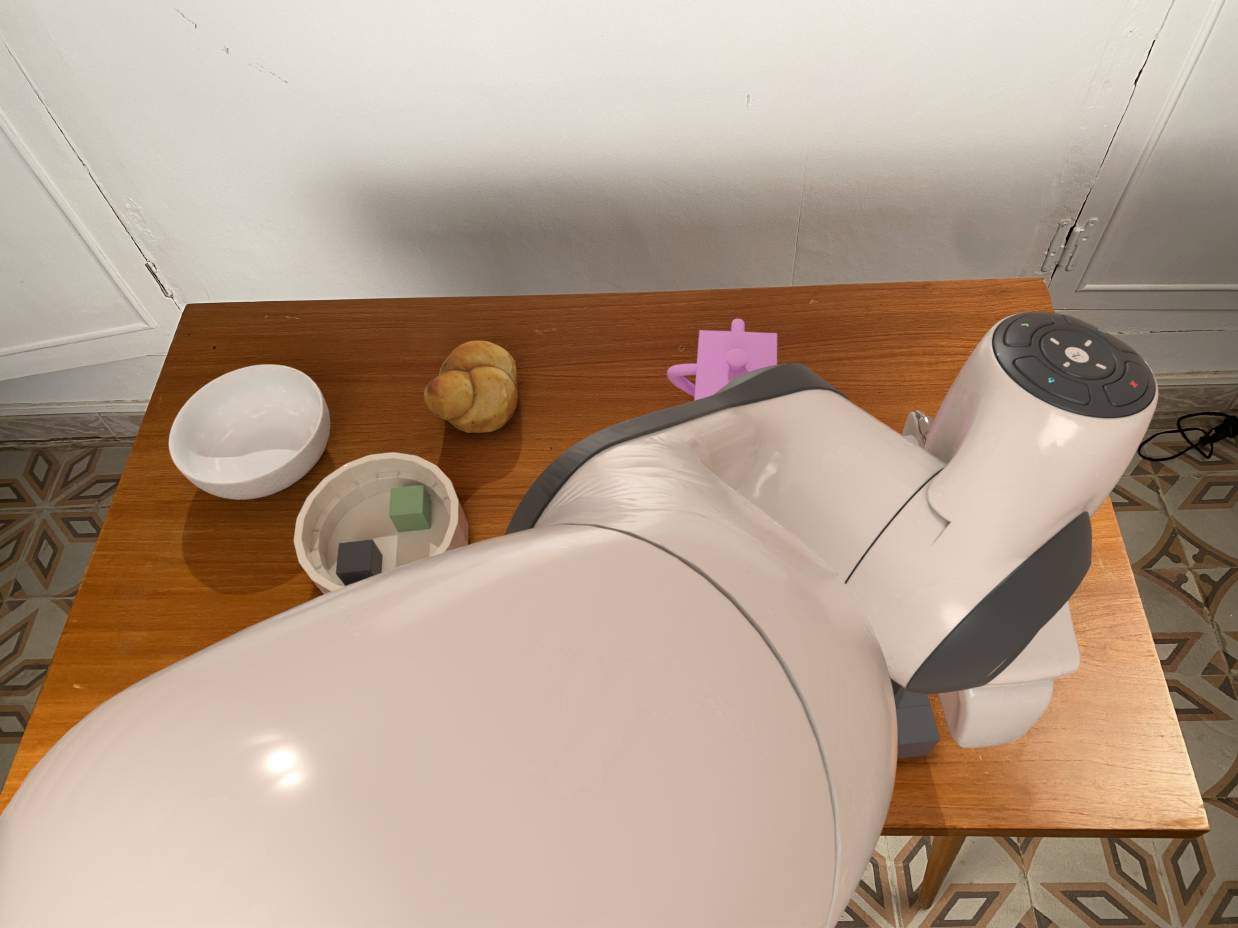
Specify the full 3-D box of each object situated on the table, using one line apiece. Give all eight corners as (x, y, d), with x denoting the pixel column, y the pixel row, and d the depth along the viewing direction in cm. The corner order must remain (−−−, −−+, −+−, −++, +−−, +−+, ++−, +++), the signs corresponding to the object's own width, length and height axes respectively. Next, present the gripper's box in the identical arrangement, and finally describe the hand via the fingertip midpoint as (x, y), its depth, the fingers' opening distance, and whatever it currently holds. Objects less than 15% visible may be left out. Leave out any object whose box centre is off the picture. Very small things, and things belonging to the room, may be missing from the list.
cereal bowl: (352, 394, 103) (332, 356, 97) (334, 512, 93) (311, 477, 88) (214, 406, 103) (185, 368, 97) (183, 524, 94) (149, 491, 88)
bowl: (470, 610, 86) (457, 585, 81) (307, 629, 86) (284, 604, 81) (470, 475, 95) (459, 444, 90) (323, 491, 95) (304, 461, 90)
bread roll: (458, 355, 105) (443, 310, 98) (534, 360, 104) (524, 314, 97) (432, 439, 98) (414, 397, 91) (513, 446, 97) (501, 403, 90)
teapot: (788, 489, 91) (800, 434, 83) (660, 481, 93) (659, 427, 85) (788, 362, 101) (798, 302, 93) (672, 357, 103) (672, 297, 94)
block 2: (430, 529, 90) (422, 512, 87) (398, 532, 90) (388, 516, 87) (431, 501, 92) (423, 484, 89) (399, 504, 92) (390, 487, 89)
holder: (926, 755, 75) (940, 739, 71) (830, 766, 75) (839, 751, 71) (899, 663, 80) (911, 643, 76) (809, 673, 80) (816, 654, 76)
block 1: (380, 585, 87) (370, 569, 84) (346, 588, 87) (335, 573, 84) (382, 555, 89) (372, 538, 86) (349, 558, 89) (338, 542, 86)
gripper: (872, 401, 55) (839, 509, 67) (975, 708, 44) (913, 775, 55) (967, 390, 55) (918, 500, 67) (1095, 695, 44) (1009, 764, 55)
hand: (917, 627), depth 61 cm, fingers open, 3 cm apart
